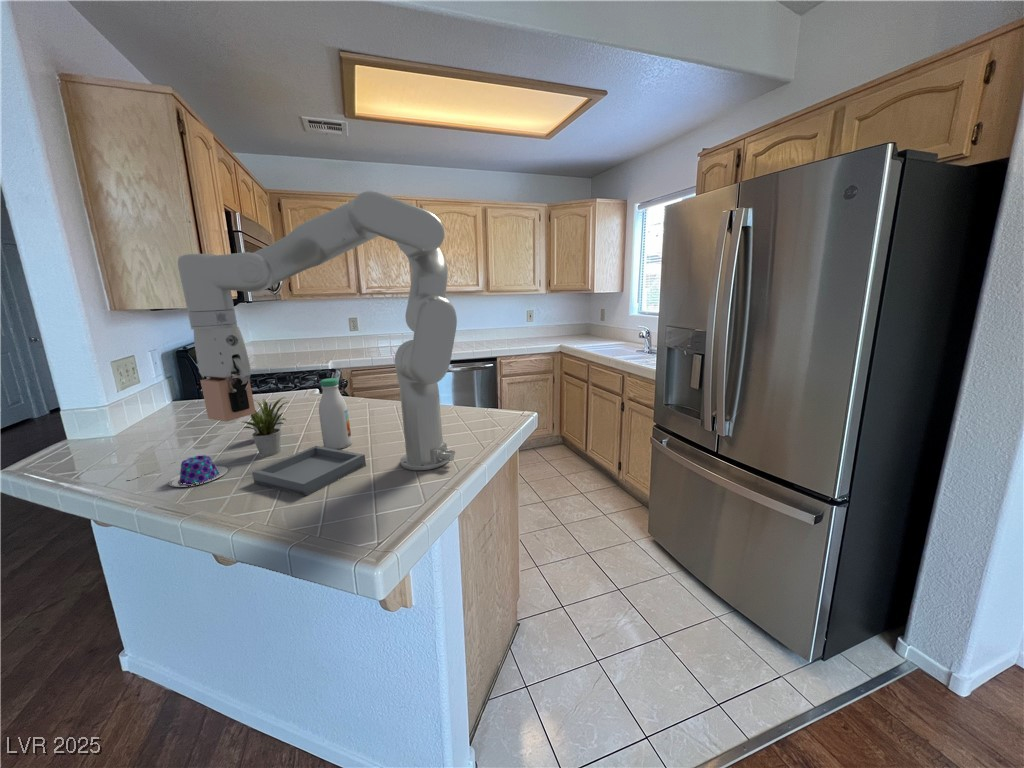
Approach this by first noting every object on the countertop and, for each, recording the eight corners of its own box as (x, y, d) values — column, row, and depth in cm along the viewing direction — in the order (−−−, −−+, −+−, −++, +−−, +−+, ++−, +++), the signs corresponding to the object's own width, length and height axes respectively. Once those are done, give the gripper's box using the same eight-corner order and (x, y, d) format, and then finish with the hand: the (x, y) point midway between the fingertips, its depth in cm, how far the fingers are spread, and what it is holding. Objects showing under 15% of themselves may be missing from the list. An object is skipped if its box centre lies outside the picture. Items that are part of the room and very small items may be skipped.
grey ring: (262, 442, 129) (256, 411, 127) (253, 442, 130) (247, 411, 128) (286, 432, 139) (281, 402, 137) (278, 431, 140) (273, 402, 138)
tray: (366, 465, 109) (364, 454, 108) (305, 496, 93) (303, 484, 92) (317, 456, 117) (316, 445, 116) (254, 483, 101) (252, 471, 100)
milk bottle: (345, 450, 120) (336, 381, 116) (319, 451, 120) (308, 382, 116) (356, 440, 128) (347, 376, 123) (331, 441, 128) (321, 377, 124)
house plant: (308, 440, 129) (301, 389, 126) (294, 457, 116) (284, 400, 112) (258, 445, 127) (249, 392, 123) (237, 463, 114) (226, 405, 110)
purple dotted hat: (229, 479, 104) (225, 459, 103) (168, 494, 98) (163, 473, 96) (226, 465, 114) (223, 446, 113) (170, 477, 107) (165, 458, 106)
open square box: (255, 413, 88) (248, 375, 86) (226, 421, 83) (218, 382, 81) (238, 410, 91) (231, 374, 89) (208, 418, 85) (200, 380, 84)
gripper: (260, 318, 82) (275, 407, 86) (208, 319, 89) (224, 401, 93) (219, 321, 75) (238, 418, 79) (167, 322, 83) (187, 410, 87)
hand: (230, 408), depth 86 cm, fingers closed on open square box, 6 cm apart
